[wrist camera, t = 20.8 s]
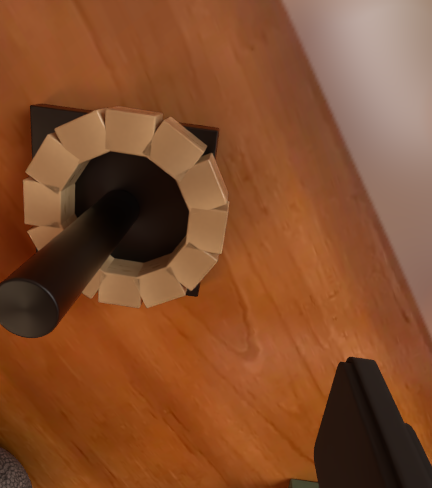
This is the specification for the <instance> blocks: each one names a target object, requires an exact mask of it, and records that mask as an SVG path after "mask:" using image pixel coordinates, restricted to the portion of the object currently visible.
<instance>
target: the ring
mask: <svg viewBox="0 0 432 488" xmlns="http://www.w3.org/2000/svg"><path fill="white" fill-rule="evenodd" d="M162 120H163V113H160V112H153V111H147V110H140V109H134V108H127V107H121V106H116V107H112V108H108V107H107V108H103V109H98V110H95V111H92V112H90V113H88V114H86V115H83V116H81V117H79V118H77V119H74V120H72V121H70V122H68V123H65V124H63V125H61V126H59V127H56V128H55V129H54V130H55V133H51V134H48V135H47V136H46V138H45V140H44V141H43V143H42V145H41V146H40V148H39V150H38V151H37V153H36V155H35V156H34V158H33V160H32V161H31V163H30V165H29V166H28V168H27V170H26V171H25V173H26V174H28V175H29V176H31V177H28V178H26V179H24V180H23V195H24V223H25V224H29V225H35V226H33V227H32V228H31V229H29V230H28V231H27V232H28V234H29V236H30V238H31V239H32V241H33V243H34V244H35V246H36V248H37V249H38V251H39V250H40V249H42V248H43V247H44V246H45V245H46V244H48V243H49V242H50V241H51V240H52V239H53V238H55V237H56V236H57V235H58V234H59V233H61V232H62V231H63V230H64V229H65V228H66V227H68V226H69V225H70V224H71V223H72V222H74V221H75V220H76V219H77V217H76V215H75V182H76V181H77V179H78V178H79V176H80V175H81V173H82V172H83V170H84V169H85V167H86V166H87V164H88V163H89V161H90V160H91V159H93V158H96V157H98V156H100V155H103V154H105V153H108V152H110V151H112V152H118V153H125V154H131V155H137V156H144V157H147V158H148V159H149V160H151V161H152V162H153V163H155V164H156V165H157V166H158V167H160V168H161V169H162V170H164V171H165V172H166V173H168V174H169V175H170V176H171V177H173V178H174V179H175V180H176V182H177V184H178V187H179V189H180V191H181V193H182V196H183V198H184V200H185V203H186V205H187V207H188V209H189V217H188V225H187V233H186V236H185V237H184V239H183V240H182V241H181V242H180V243H179V245H178V246H177V247H176V248H175V250H174V251H173V252H172V253H170V254H168V255H165V256H162V257H159V258H156V259H153V260H151V261H148V262H145V263H141V262H135V261H129V260H122V259H116V258H113V257H112V256H111V255H110V256H109V257H108V258H107V260H106V261H105V262H104V264H103V265H102V266H101V268H100V269H99V270H98V272H97V273H96V274H95V276H94V277H93V278H92V280H91V281H90V282H89V284H88V285H87V286H86V288H85V289H84V290H83V292H82V293H83V294H84V295H86V296H87V297H89V298H90V299H91V298H93V296H94V295H95V294H96V293H97V291H98V302H101V303H108V304H114V305H121V306H127V307H134V308H140V306H141V304H142V302H144V304H145V306H146V308H149V307H152V306H155V305H158V304H161V303H164V302H167V301H170V300H173V299H176V298H179V297H182V296H185V295H186V291H187V288H188V289H189V290H191V291H192V290H193V289H194V288H195V287H196V286H197V284H198V283H199V282H200V281H201V280H202V279H203V278H204V276H205V275H206V274H207V273H208V272H209V271H210V270H211V269H212V267H213V266H214V265H215V264H216V263H217V262H218V256H219V254H221V253H222V249H223V242H224V236H225V230H226V224H227V217H228V210H229V201H227V199H228V191H227V188H226V186H225V183H224V181H223V178H222V176H221V173H220V171H219V168H218V166H217V163H216V161H215V158H214V156H213V154H212V153H209V154H207V155H204V156H202V155H203V153H204V152H205V150H206V148H207V145H206V144H204V143H203V142H202V141H201V140H199V139H198V138H197V137H196V136H194V135H193V134H192V133H191V132H189V131H188V130H187V129H186V128H184V127H183V126H182V125H181V124H179V123H178V122H177V121H176V120H174V119H173V118H172V117H169V118H167V119H165V120H163V122H162ZM201 156H202V157H201Z"/></svg>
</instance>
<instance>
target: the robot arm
mask: <svg viewBox="0 0 432 488" xmlns="http://www.w3.org/2000/svg"><path fill="white" fill-rule="evenodd" d="M314 462H315V468H316V473H317V479H318V484H319V488H432V466H431V464H430V462H429V460H428V458H427V456H426V454H425V452H424V450H423V447H422V445H421V443H420V441H419V439H418V437H417V435H416V433H415V431H414V430H413V428H412V427H411V426H410V425H409V424H407V423H404V421H403V419H402V417H401V415H400V413H399V411H398V408H397V406H396V404H395V402H394V400H393V398H392V396H391V393H390V391H389V389H388V387H387V385H386V383H385V381H384V378H383V376H382V374H381V372H380V370H379V368H378V366H377V364H376V362H375V361H374V360H369V359H362V358H355V357H349V358H348V359H347V360H346V362H340V363H339V364H338V367H337V370H336V374H335V377H334V380H333V384H332V387H331V391H330V394H329V398H328V401H327V404H326V408H325V411H324V415H323V418H322V422H321V425H320V429H319V432H318V435H317V439H316V442H315V447H314Z"/></svg>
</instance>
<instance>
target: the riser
mask: <svg viewBox="0 0 432 488" xmlns="http://www.w3.org/2000/svg"><path fill="white" fill-rule="evenodd" d="M288 488H319V484H318V483H317V482H310V481H303V480H296V479H291V480H290V483H289V487H288Z"/></svg>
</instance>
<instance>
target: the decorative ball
mask: <svg viewBox="0 0 432 488" xmlns="http://www.w3.org/2000/svg"><path fill="white" fill-rule="evenodd" d="M0 488H32V485H31V481H30V479H29V477H28V475H27V473H26V471H25V469H24V468H23V466H22V465H21V463H20V462H19V461H18V460H17V459H16V458H15V457H14V456H13V455H12V454H11V453H9V452H8V451H6V450H5V449H3V448H1V447H0Z"/></svg>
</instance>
